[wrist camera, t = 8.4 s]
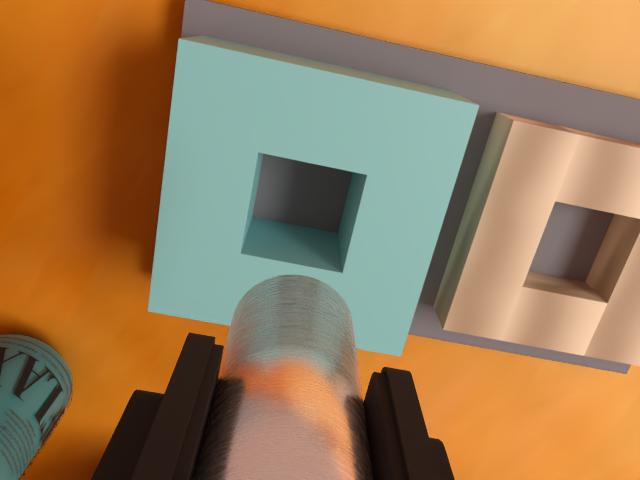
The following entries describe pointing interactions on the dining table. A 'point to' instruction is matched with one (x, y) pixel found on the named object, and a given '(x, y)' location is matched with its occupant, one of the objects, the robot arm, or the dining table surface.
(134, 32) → the dining table surface
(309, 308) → the steel pin
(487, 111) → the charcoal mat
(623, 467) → the dining table surface
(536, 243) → the ash mount
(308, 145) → the teal dock
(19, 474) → the beverage bottle
